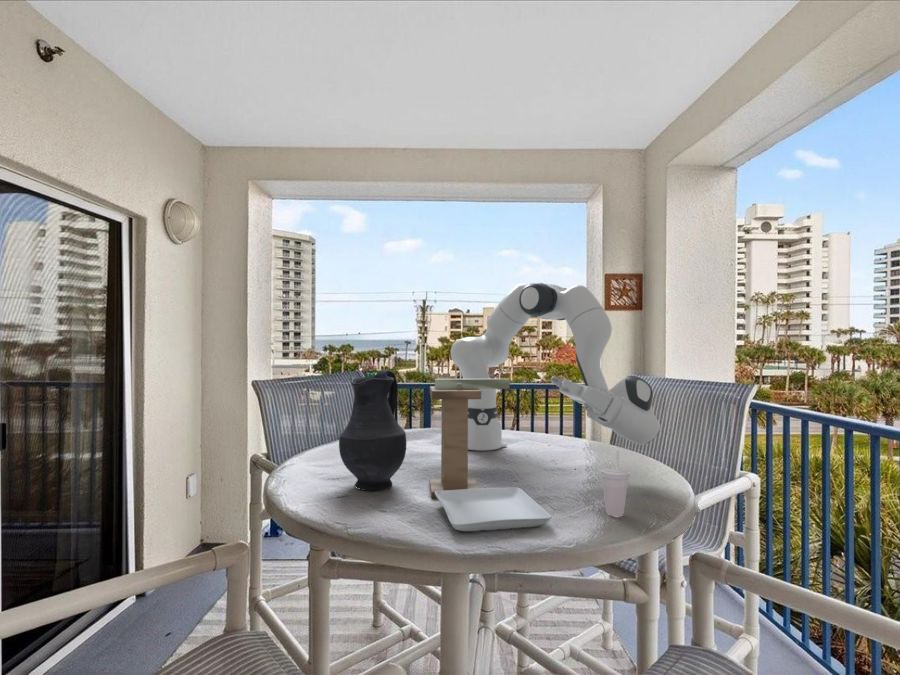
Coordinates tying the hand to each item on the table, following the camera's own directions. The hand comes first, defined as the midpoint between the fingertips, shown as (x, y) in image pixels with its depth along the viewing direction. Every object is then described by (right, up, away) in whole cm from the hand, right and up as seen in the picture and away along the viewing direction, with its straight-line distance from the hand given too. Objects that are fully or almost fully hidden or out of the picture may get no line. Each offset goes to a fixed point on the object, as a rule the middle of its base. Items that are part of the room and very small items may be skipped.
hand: (557, 379), depth 133 cm
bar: (-22, -2, -2) cm, 22 cm away
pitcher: (-47, -28, +3) cm, 55 cm away
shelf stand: (-27, -28, -2) cm, 39 cm away
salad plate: (-19, -29, -21) cm, 40 cm away
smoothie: (+9, -29, -19) cm, 35 cm away
